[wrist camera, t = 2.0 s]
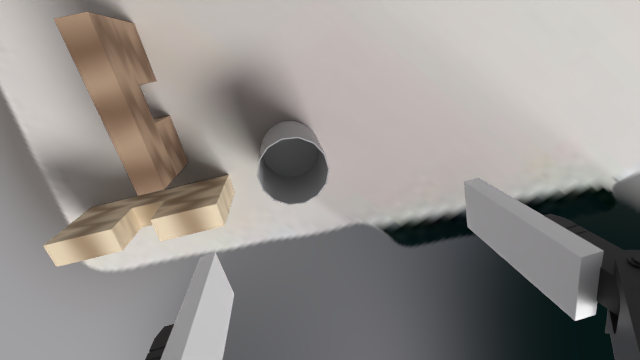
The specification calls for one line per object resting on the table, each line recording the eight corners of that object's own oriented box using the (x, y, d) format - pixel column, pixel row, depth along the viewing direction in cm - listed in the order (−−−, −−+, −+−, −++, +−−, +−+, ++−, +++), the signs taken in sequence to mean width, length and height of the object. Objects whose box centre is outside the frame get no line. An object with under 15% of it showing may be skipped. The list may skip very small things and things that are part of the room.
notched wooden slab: (101, 224, 46) (56, 266, 37) (91, 207, 45) (43, 245, 36) (234, 192, 47) (224, 225, 38) (228, 174, 46) (216, 203, 36)
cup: (280, 185, 47) (281, 216, 38) (249, 140, 44) (242, 162, 35) (328, 157, 47) (341, 182, 37) (300, 109, 44) (306, 123, 34)
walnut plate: (188, 162, 44) (164, 189, 35) (167, 167, 44) (138, 195, 35) (134, 23, 37) (87, 11, 28) (109, 28, 37) (53, 18, 28)
